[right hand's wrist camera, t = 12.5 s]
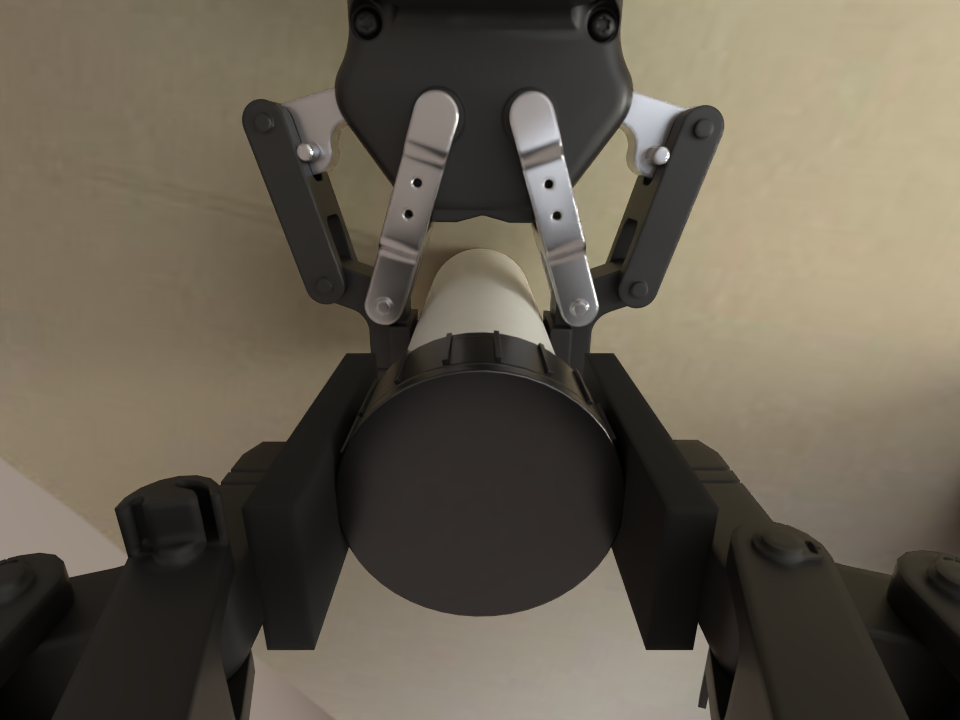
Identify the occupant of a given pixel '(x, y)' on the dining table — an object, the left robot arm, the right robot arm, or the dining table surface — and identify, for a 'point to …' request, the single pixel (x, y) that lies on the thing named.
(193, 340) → the dining table surface
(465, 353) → the lid
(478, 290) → the jar
